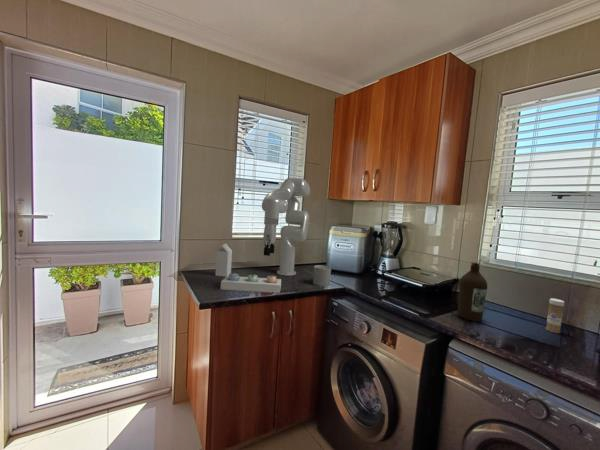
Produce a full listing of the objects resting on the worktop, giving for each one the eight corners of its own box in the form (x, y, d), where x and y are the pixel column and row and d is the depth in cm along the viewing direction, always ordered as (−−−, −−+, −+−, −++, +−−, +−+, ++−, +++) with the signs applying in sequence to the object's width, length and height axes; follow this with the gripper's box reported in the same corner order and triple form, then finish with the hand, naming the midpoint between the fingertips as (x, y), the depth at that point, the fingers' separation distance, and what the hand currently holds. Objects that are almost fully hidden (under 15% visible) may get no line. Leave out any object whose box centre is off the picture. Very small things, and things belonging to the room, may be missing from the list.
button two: (229, 280, 151) (230, 272, 151) (239, 281, 151) (239, 273, 151) (227, 283, 146) (227, 275, 146) (237, 284, 146) (237, 275, 146)
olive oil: (450, 313, 131) (456, 260, 129) (469, 312, 133) (475, 260, 131) (469, 322, 120) (475, 265, 119) (489, 322, 123) (496, 265, 121)
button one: (266, 283, 151) (267, 275, 151) (276, 283, 152) (276, 275, 151) (265, 285, 146) (266, 277, 146) (275, 286, 147) (275, 278, 146)
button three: (248, 282, 151) (248, 273, 151) (257, 282, 151) (258, 274, 151) (246, 284, 146) (247, 276, 146) (256, 285, 146) (256, 276, 146)
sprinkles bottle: (545, 331, 117) (549, 299, 116) (545, 327, 120) (549, 297, 119) (560, 334, 114) (565, 302, 113) (560, 331, 117) (564, 300, 116)
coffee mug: (327, 287, 160) (328, 269, 159) (310, 284, 163) (311, 267, 162) (332, 281, 172) (334, 265, 171) (317, 279, 176) (318, 263, 175)
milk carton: (230, 274, 174) (232, 243, 172) (226, 277, 167) (228, 245, 165) (219, 273, 174) (221, 242, 173) (215, 275, 167) (216, 244, 166)
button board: (226, 282, 155) (226, 275, 154) (280, 286, 155) (281, 279, 155) (220, 289, 143) (221, 281, 142) (279, 293, 143) (280, 285, 143)
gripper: (268, 221, 157) (266, 251, 158) (260, 221, 140) (257, 255, 140) (281, 222, 156) (279, 252, 157) (274, 222, 139) (272, 257, 139)
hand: (269, 254), depth 149 cm, fingers open, 9 cm apart
